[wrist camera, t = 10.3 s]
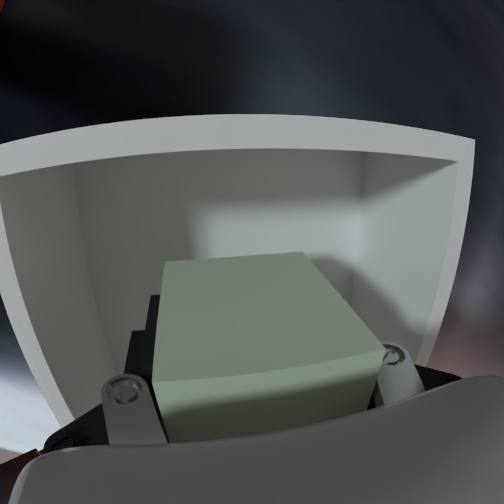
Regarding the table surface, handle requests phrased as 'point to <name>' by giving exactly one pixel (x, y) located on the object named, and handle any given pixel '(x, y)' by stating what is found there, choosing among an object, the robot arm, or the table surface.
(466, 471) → the robot arm
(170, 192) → the bin
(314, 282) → the green block
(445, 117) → the table surface
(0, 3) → the paper cup
